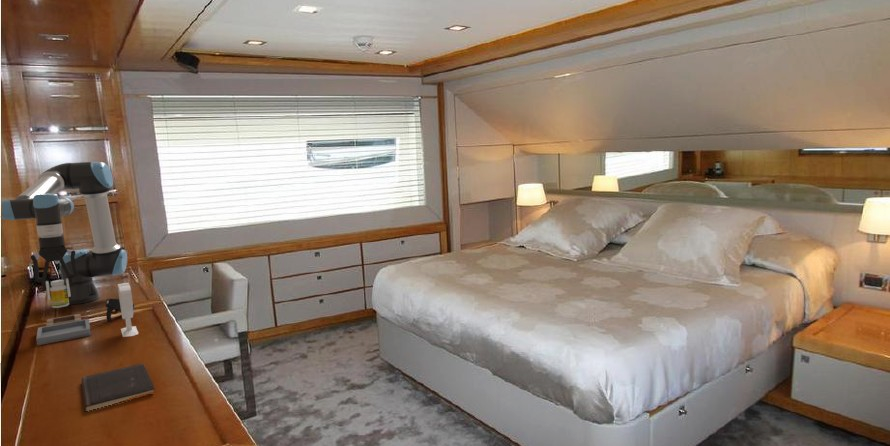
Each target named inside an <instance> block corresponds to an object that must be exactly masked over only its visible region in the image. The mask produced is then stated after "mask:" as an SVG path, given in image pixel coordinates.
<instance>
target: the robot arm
mask: <svg viewBox="0 0 890 446" xmlns="http://www.w3.org/2000/svg"><path fill="white" fill-rule="evenodd" d="M113 177H114V176H113V174H112V170H111V169H110V166H109V165H108V164H107V163H105V162H102V161H85V162H84V161H83V162H82V161H80V162H65V163H61V164H57V165H55V166H53V167H50V168H48V169H46V170H45V171H44V172H42V173H40V174H39V176H38V177H37V180H36V181H35V182H34V183H33V184H31V185H30V186H29V187H28V188H27V189H25V190H24V191H23V192H21V193H20V194H19V195H18V196H17V197H16V198H14V199H6V200H5V199H4V200H1V201H2V218H1V219H2V220H5V221H18V220H30V219H31V220H34V219H35V223H36V230H37V236H38V244H39V245H38V246H39V250H38V252H37V253H35V254H31V255H30V259H31V261H32V265H33V274H34V275H33V276H34V281H35V282H36V283H38V282H39V283H40V284H41V285H42V286H41V287H42V291H43V292H46V293H47V294H46V296H47V300H48V301H51V297H50V290H49V289H50V283H49V280H47V276H48V270H49V267H50V263H51V262H54V261H55V262H59V268H60V269H59V270H60V276H61V280H64V285H65V286H67V292H68V298H69V305H68V306H70V305H80V304H85V303H90V302H93V301H95V300H99V298H100V293H99V291H98V288H97V287H96V285H95V284H94V280H93V278H98V277H113V276H119V275H122V274H124V272H125V271H126V270H127V265H128V252H127V251H126V250H125V249H122V247H121V245H120V244H118V243H117V241H116V236H115V230H114V225H113V219H112V215H111V210H110V205H109V198H108V193H110V190H111V188H112V187H113V186H114V178H113ZM65 190H78V192H79V195H81V196H82V197H84V201H85V206H86V210H87V211H86V212H87V215H88V220H89V224H90V230H91V235H92V239H93V245H94V246H93V248H92V249H91V252H90V250H89V249H88V248H87V249H86V248H85V249H80V250H75V249H68V248H67V247H66V244H65V236H64V230H63V229H64V227H63V222H62V217H67V216H68V215H70V214H71V213H73V211H74V209H75V204H74V202H73V201H72V199H70V198H68V197H67V196H59V195H58V194H57V193H59V192H61V191H65ZM40 257H41V258H42V259H44V260H45V262H44V267H43V272H42V276H41V277H40V273H39V272H40V270H39V262H38V260H39V259H40Z"/></svg>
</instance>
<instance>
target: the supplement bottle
mask: <svg viewBox="0 0 890 446" xmlns="http://www.w3.org/2000/svg"><path fill="white" fill-rule="evenodd" d="M50 286H51V287H49V290H50V297H51V300H50V304H51V308H54V309H59V308H64V307H68V306H70V305H69V298H68V292H67V286H65V285H64V280H62V279H56V280H52V281H50Z"/></svg>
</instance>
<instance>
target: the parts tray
mask: <svg viewBox="0 0 890 446" xmlns="http://www.w3.org/2000/svg"><path fill="white" fill-rule="evenodd" d="M89 319H90V318H84V319H81V320H78V321H73V322H67V323H61V324H56V325H50V326H46V325H45V326H40V327H37V332H36V345H37V346H42V345H46V344H52V343H58V342H63V341H69V340H74V339H78V338H83V337H89V336H92V332H91V326H90V320H89Z"/></svg>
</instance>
